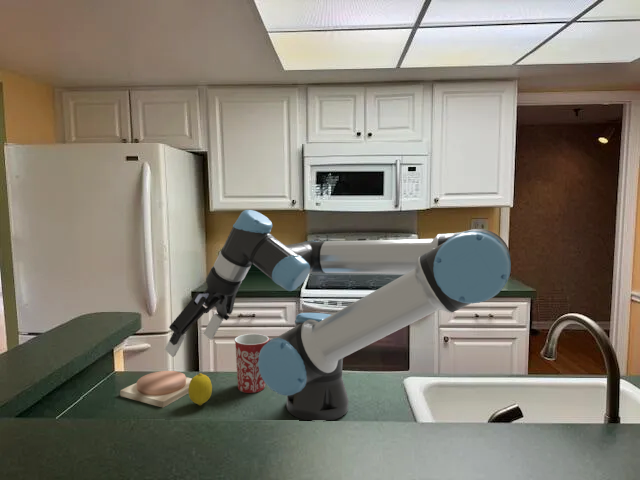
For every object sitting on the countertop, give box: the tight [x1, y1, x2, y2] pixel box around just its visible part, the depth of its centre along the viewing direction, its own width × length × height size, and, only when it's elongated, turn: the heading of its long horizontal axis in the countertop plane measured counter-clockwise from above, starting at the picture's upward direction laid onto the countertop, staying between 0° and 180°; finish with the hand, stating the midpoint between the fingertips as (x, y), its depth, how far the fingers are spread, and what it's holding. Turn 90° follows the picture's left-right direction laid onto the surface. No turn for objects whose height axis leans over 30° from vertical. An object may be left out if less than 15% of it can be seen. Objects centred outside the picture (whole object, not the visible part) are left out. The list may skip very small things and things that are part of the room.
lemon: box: [188, 372, 213, 406], centre depth 106 cm, size 6×6×8 cm
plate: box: [119, 370, 193, 409], centre depth 114 cm, size 14×14×3 cm
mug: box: [234, 333, 271, 394], centre depth 118 cm, size 13×9×14 cm
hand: (189, 344), depth 105 cm, fingers open, 13 cm apart
